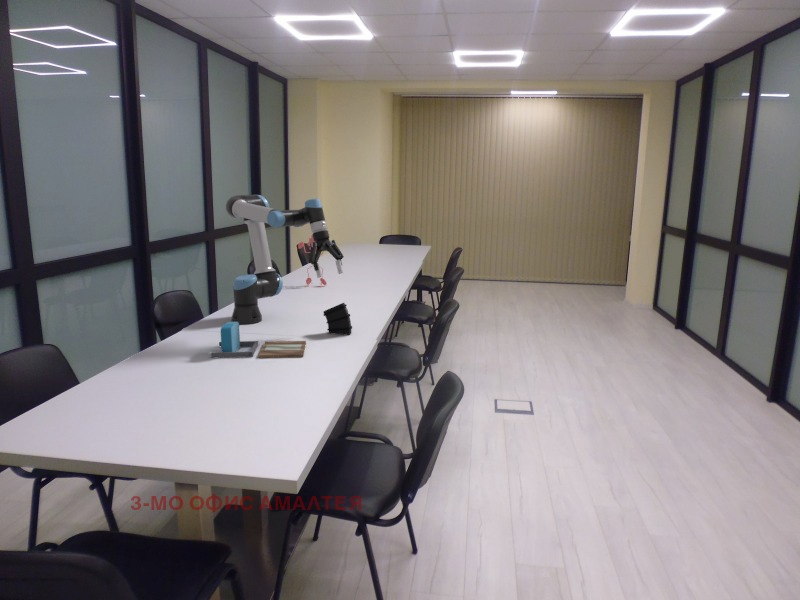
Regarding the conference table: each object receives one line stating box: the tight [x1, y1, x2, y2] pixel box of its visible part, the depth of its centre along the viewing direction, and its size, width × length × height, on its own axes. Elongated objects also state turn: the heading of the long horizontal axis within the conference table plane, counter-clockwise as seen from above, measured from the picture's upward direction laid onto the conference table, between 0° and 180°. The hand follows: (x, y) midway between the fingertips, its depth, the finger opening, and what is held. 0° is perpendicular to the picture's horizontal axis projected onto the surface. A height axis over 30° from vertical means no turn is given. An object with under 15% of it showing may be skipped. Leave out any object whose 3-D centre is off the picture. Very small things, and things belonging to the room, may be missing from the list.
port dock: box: [258, 340, 307, 359], centre depth 246 cm, size 20×18×1 cm
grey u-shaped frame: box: [210, 340, 259, 359], centre depth 244 cm, size 16×17×2 cm
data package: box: [220, 321, 241, 352], centre depth 242 cm, size 12×4×12 cm, turn 0°
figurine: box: [297, 235, 327, 287], centre depth 389 cm, size 15×26×35 cm, turn 80°
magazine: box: [322, 302, 353, 336], centre depth 272 cm, size 4×13×15 cm, turn 76°
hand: (330, 275), depth 269 cm, fingers open, 13 cm apart
